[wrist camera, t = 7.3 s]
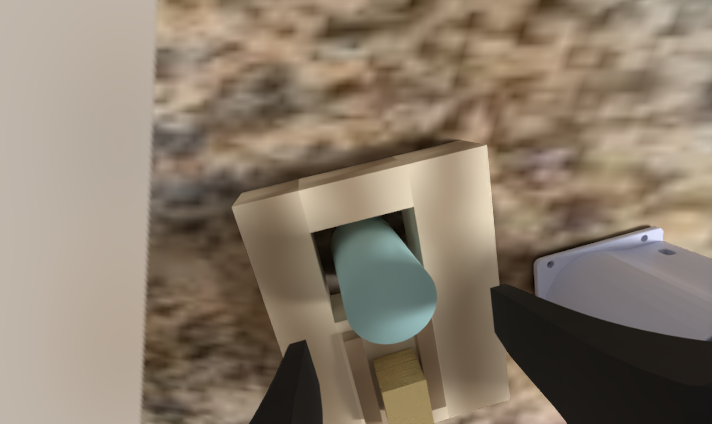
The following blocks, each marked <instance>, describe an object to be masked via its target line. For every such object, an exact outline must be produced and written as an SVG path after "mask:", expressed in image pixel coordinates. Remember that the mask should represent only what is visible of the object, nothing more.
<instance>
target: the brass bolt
mask: <svg viewBox="0 0 712 424" xmlns="http://www.w3.org/2000/svg"><path fill="white" fill-rule="evenodd" d="M372 360H373V364H374V369H375V373H376V377H377V381H378V385H379V389H380V393H381V397H382V402H383V406H384V410H385V413H386V417H387V421H388V424H434V419H433V414H432V408H431V403H430V398H429V392H428V387H427V382H426V378H425V376H424V374H423V372H422V370H421V367H420V365H419V363H418V361H417V359H416V357H415V354H414V352H413V350H412V348H409V349H406V350H403V351H399V352H396V353H392V354H389V355H385V356H382V357H378V358H375V359H372Z"/></svg>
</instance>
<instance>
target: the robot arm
mask: <svg viewBox="0 0 712 424" xmlns="http://www.w3.org/2000/svg"><path fill="white" fill-rule="evenodd" d="M548 262H550V264H549V265H547V264H548ZM534 281H535V295H533V294H530V293H528V292H525V291H523V290H520V289H518V288H515V287H512V286H510V285H507V284H503V285H499V286H496V287H492V288H490V293H491V303H492V313H493V323H494V332H495V334H496V335H497V337H498V338H499V340H500V342H501V343H502V345H503V346H504V348H505V349H506V350H507V352H508V353H509V355H510V356H511V357H512V358H513V360H514V361H515V362H516V363H517V364H518V366H519V367H520V368H521V369H522V370H523V371H524V373H525V374H526V375H527V376H528V377H529V378H530V379H531V381H532V382H533V383H534V384H535V385H536V386H537V388H538V389H539V390H540V391H541V392H542V393H543V394H544V396H545V397H546V398H547V399H548V400H549V401H550V402H551V404H552V405H553V406H554V407H555V408H556V410H557V411H558V412H559V413H560V415H561V416H562V417H563V418H564V420H565V421H566V423H567V424H712V259H711V258H709V257H706V256H703V255H700V254H698V253H695V252H692V251H689V250H687V249H684V248H681V247H678V246H675V245H673V244H670V243H667V242H664V241H663V230H662V229H661V228H658V227H650V228H646V229H643V230H639V231H635V232H632V233H628V234H624V235H621V236H617V237H614V238H610V239H606V240H603V241H599V242H595V243H592V244H588V245H584V246H581V247H577V248H574V249H570V250H566V251H563V252H559V253H555V254H552V255H548V256H545V257H541V258H538V259H537V260H536V261H535V263H534ZM249 424H323V409H322V400H321V392H320V384H319V380H318V377H317V374H316V370H315V367H314V364H313V361H312V358H311V354H310V351H309V348H308V345H307V342H306V340H302V341H298V342H295V343H291V344H289V346H288V347H287V350H286V352H285V354H284V357H283V359H282V362H281V364H280V366H279V368H278V371H277V373H276V375H275V377H274V379H273V381H272V383H271V385H270V387H269V389H268V391H267V393H266V395H265V397H264V399H263V400H262V402H261V404H260V406H259V408H258V409H257V411H256V413H255V415H254V416H253V418H252V420H251V421H250V423H249Z"/></svg>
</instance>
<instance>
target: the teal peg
mask: <svg viewBox="0 0 712 424" xmlns="http://www.w3.org/2000/svg"><path fill="white" fill-rule="evenodd" d="M331 252H332V256H333V260H334V265H335V269H336V274H337V278H338V282H339V287H340V291H341V296H342V300H343V304H344V309H345V313H346V317H347V320H348V322H349V325H350V326H351V328H352V329H353V330H354V331H355V332H356V334H358V335H359V336H360V337H362V338H363V339H365V340H367V341H370V342H373V343H377V344H394V343H399V342H402V341H405V340H407V339H409V338H411V337H413V336H414V335H416V334H417V333H419V332H420V331H421V330H422V329H423V328H424V327H425V326H426V325H427V324H428V322H429V321H430V319H431V317H432V315H433V313H434V311H435V308H436V303H437V291H436V286H435V284H434V281H433V280H432V278H431V276H430V275H429V274H428V272H427V271H426V270H425V269H424V268H423V266H422V265H421V264H420V263H419V261H418V260H417V259H416V258H415V256H414V255H413V254H412V253H411V251H410V250H409V249H408V248H407V246H406V245H405V244H404V243H403V241H402V240H401V239H400V238H399V236H398V235H397V234H396V233H395V231H394V230H393V229H392V228H391V226H390V225H389V224H388V223H387V222H386V221H385V220H384V219H383V218H381V217H379V216H375V217H371V218H367V219H363V220H360V221H356V222H352V223H348V224H344V225H340V226H337V228H336V229H335V231H334V233H333V235H332V239H331Z"/></svg>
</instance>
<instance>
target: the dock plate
mask: <svg viewBox="0 0 712 424" xmlns="http://www.w3.org/2000/svg"><path fill="white" fill-rule="evenodd" d="M232 210H233V213H234V216H235V219H236V222H237V225H238V228H239V231H240V233H241V236H242V239H243V242H244V245H245V248H246V251H247V254H248V257H249V260H250V263H251V265H252V268H253V271H254V274H255V277H256V280H257V283H258V286H259V289H260V292H261V295H262V298H263V300H264V303H265V306H266V309H267V312H268V315H269V318H270V321H271V324H272V327H273V330H274V333H275V335H276V338H277V341H278V344H279V347H280V350H281V353H282V356H283V357H284V354H285V352H286V350H287V347H288V346H289V344H291V343H295V342H298V341H302V340H306V342H307V345H308V348H309V351H310V354H311V358H312V361H313V364H314V367H315V370H316V374H317V377H318V380H319V384H320V392H321V400H322V409H323V424H388V421H387V417H386V413H385V410H384V406H383V402H382V397H381V393H380V389H379V385H378V381H377V377H376V373H375V369H374V364H373V360H372V359H375V358H378V357H382V356H385V355H389V354H392V353H396V352H399V351H403V350H406V349H409V348H412V350H413V352H414V354H415V357H416V359H417V361H418V363H419V365H420V367H421V370H422V372H423V374H424V376H425V378H426V382H427V387H428V392H429V398H430V403H431V408H432V414H433V419H434V423H435V422H438V421H442V420H445V419H448V418H451V417H455V416H458V415H461V414H464V413H468V412H471V411H474V410H477V409H480V408H484V407H487V406H490V405H493V404H497V403H500V402H503V401H506V400H510V396H509V385H508V374H507V363H506V352H505V348H504V346H503V345H502V343H501V342H500V340H499V338H498V337H497V335H496V334H495V332H494V323H493V313H492V303H491V293H490V288H492V287H496V286H499V274H498V263H497V252H496V241H495V230H494V218H493V207H492V196H491V185H490V174H489V163H488V152H487V145H484V144H479V143H473V142H468V141H463V140H459V141H455V142H451V143H447V144H442V145H438V146H434V147H430V148H426V149H422V150H418V151H413V152H409V153H405V154H401V155H397V156H393V157H388V158H384V159H380V160H376V161H372V162H368V163H363V164H359V165H355V166H351V167H347V168H343V169H338V170H334V171H330V172H326V173H322V174H318V175H313V176H309V177H305V178H301V179H297V180H293V181H288V182H284V183H280V184H276V185H272V186H268V187H263V188H259V189H255V190H251V191H247V192H243V193H241V195H240V196H239V197H238V199H237V200H236V201H235V203H234V204H233V206H232ZM399 210H401V211H402V217H403V222H404V228H405V233H406V239H407V244H408V249H409V250H410V251H411V253H412V254H413V255H414V256H415V258H416V259H417V260H418V261H419V263H420V264H421V265H422V266H423V268H424V269H425V270H426V271H427V272H428V274H429V275H430V276H431V278H432V280H433V281H434V284H435V286H436V291H437V303H436V308H435V311H434V313H433V315H432V317H431V319H430V321H429V322H428V324H427V325H426V326H425V327H424V328H423V329H422V330H421V331H420V332H419V333H417V334H416V335H414V336H413V337H411V338H409V339H407V340H405V341H402V342H399V343H394V344H377V343H373V342H370V341H367V340H365V339H363V338H362V337H360V336H359V335H358V334H356V332H355V331H354V330H353V329H352V328H351V326H350V325H349V322H348V320H347V317H346V313H345V309H344V304H343V300H342V296H341V293H338V294H334V295H331V296H330V292H329V289H328V285H327V281H326V278H325V274H324V270H323V267H322V263H321V259H320V255H319V252H318V248H317V244H316V241H315V237H314V233H313V232H316V231H320V230H324V229H328V228H332V227H336V226H340V225H344V224H348V223H352V222H356V221H360V220H363V219H367V218H371V217H375V216H379V215H383V214H387V213H391V212H395V211H399Z"/></svg>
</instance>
